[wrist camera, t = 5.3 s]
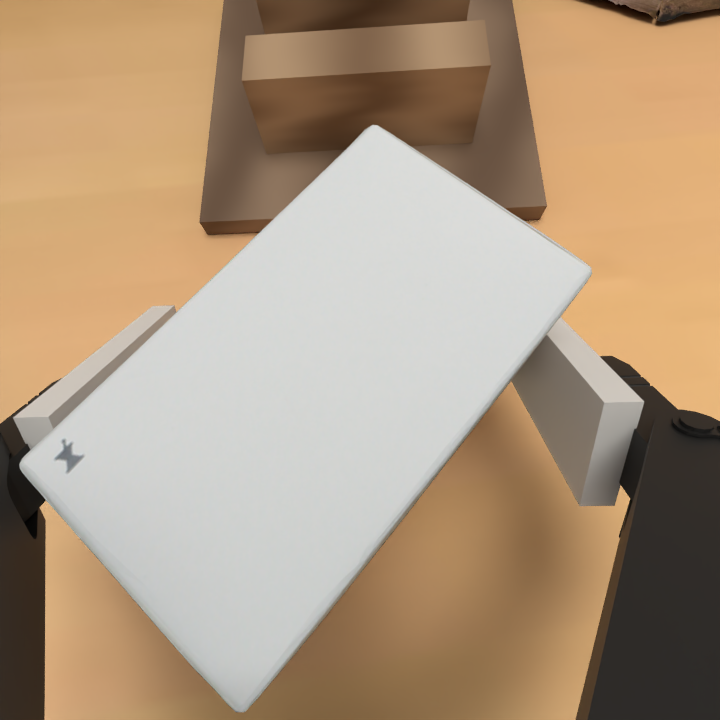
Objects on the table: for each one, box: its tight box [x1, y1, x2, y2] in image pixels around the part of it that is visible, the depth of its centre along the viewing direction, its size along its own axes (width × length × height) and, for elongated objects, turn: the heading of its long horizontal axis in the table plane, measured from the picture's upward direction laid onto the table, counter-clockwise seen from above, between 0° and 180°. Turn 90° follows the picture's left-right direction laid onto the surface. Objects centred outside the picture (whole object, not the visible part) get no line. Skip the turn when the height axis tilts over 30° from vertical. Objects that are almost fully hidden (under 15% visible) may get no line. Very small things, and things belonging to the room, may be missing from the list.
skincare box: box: [19, 125, 592, 712], centre depth 14 cm, size 10×6×10 cm, turn 139°
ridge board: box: [200, 0, 547, 234], centre depth 22 cm, size 16×16×5 cm
